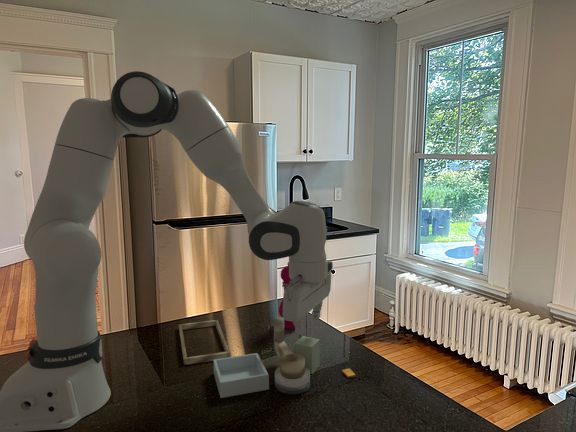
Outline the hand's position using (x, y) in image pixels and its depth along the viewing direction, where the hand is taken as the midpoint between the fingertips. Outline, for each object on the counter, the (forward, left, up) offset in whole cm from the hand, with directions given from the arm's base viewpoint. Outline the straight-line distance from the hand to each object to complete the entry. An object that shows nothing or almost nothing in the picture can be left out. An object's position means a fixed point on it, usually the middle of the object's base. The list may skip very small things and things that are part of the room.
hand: (308, 325), depth 100 cm
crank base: (-1, -6, -11) cm, 12 cm away
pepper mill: (+4, +26, -11) cm, 28 cm away
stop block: (0, 0, -11) cm, 11 cm away
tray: (-17, -1, -11) cm, 20 cm away
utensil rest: (-23, +22, -11) cm, 34 cm away
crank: (-6, -2, -8) cm, 10 cm away
